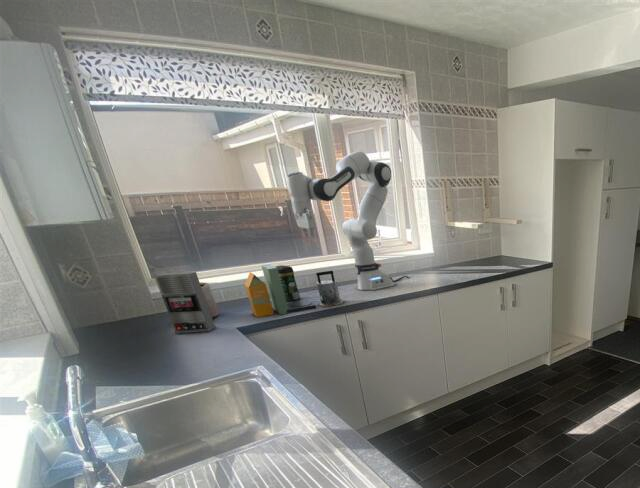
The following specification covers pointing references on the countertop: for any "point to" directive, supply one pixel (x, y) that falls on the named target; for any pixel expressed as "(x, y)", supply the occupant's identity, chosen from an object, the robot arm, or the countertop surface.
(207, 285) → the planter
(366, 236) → the robot arm
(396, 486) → the countertop surface
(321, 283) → the grey box with handle
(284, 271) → the coffee jar
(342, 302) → the cork mat
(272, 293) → the coffee maker
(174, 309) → the cassette tape recorder
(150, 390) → the countertop surface
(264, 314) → the orange juice
